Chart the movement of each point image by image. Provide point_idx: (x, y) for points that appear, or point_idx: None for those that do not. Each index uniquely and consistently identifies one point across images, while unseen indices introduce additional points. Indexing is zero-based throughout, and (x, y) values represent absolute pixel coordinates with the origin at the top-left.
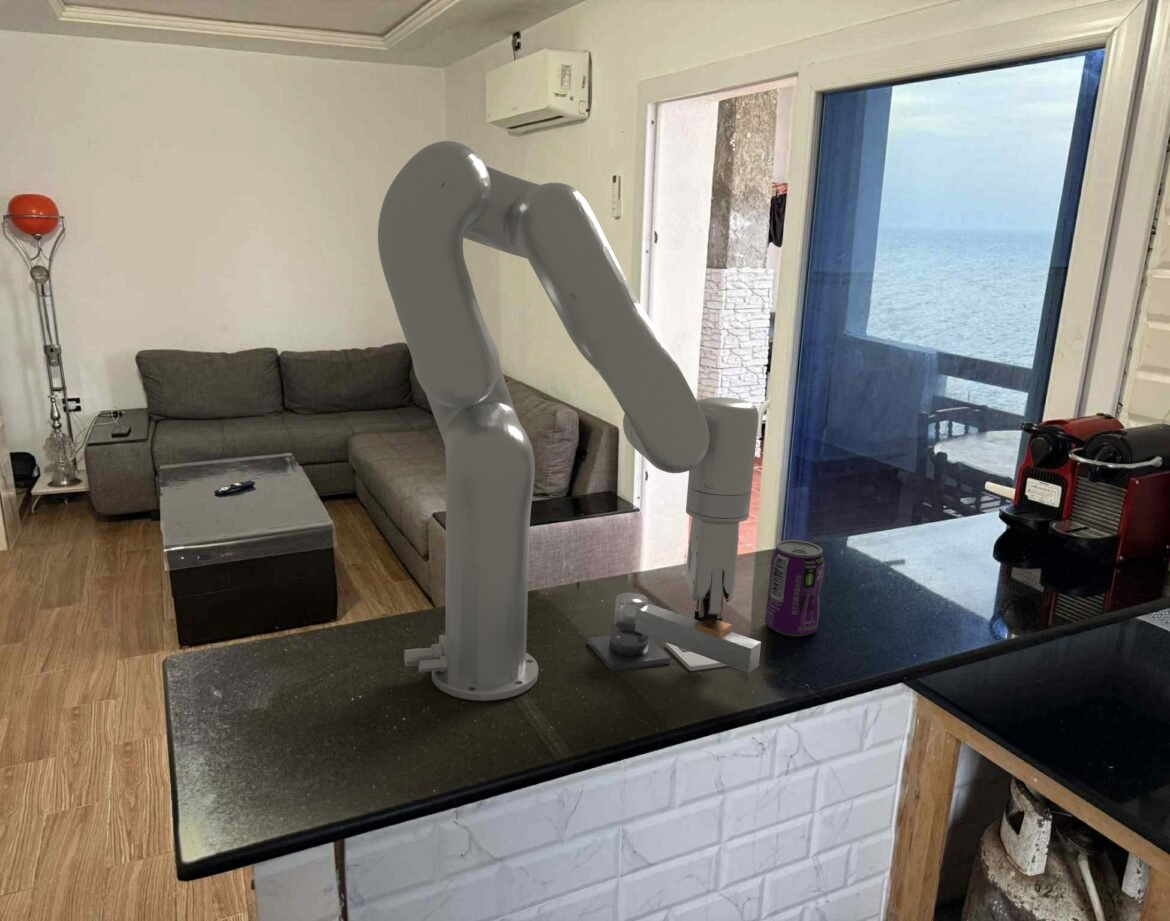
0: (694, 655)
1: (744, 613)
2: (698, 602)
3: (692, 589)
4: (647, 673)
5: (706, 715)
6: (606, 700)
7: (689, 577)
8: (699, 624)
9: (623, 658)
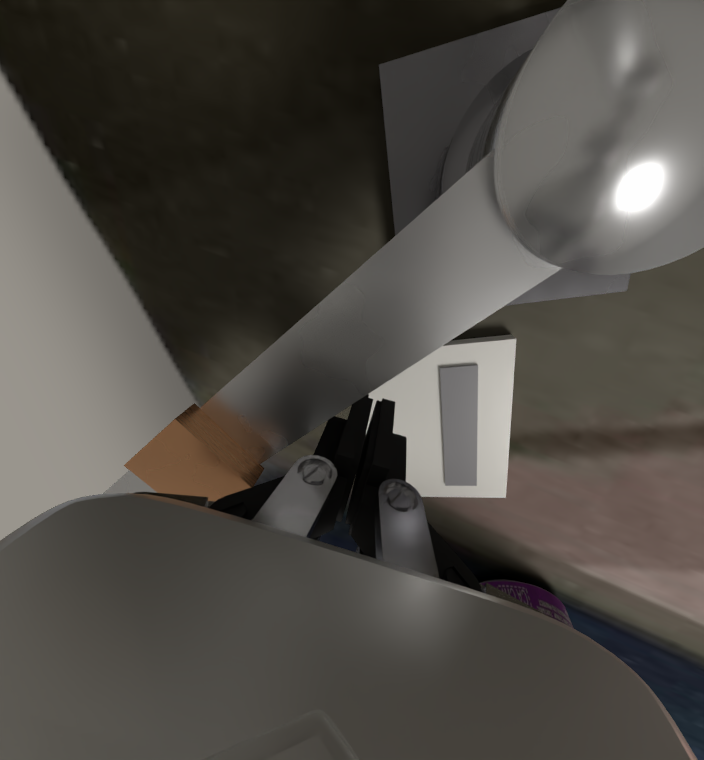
0: (412, 387)
1: (623, 576)
2: (378, 511)
3: (30, 558)
4: (355, 223)
5: (158, 312)
6: (185, 10)
7: (230, 661)
8: (172, 425)
9: (429, 139)
